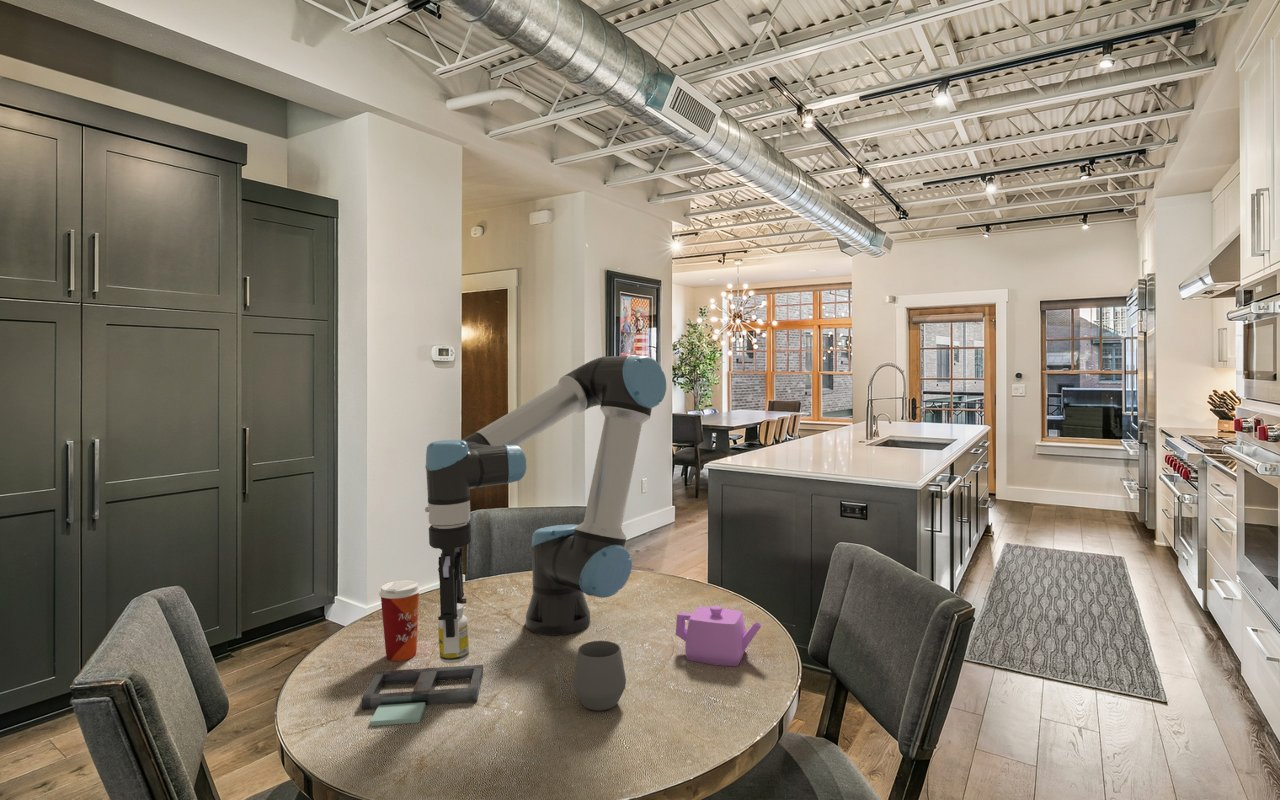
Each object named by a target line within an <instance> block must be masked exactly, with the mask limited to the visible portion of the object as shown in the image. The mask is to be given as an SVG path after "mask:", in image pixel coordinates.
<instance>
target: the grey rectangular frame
mask: <svg viewBox="0 0 1280 800" xmlns="http://www.w3.org/2000/svg"><path fill="white" fill-rule="evenodd" d="M483 676H484V665H483V664H473V665H472V664H471V665H459V666H457V665H455V666H444V667H443V666H442V667H441V666H440V667H426V668H424V667H423V668H413V669H411V668H409V669H396V670H395V669H394V670H378V671H376V673H375V675H374V677H373V678H372V680H371V681H370V682H369V685H368V687H367V688H366V690H365V692H364V693H363V695H362V697H361V710H362V711H363V710H375V709H376V710H377V708H378V706H379V705H393V704H407V703H421V702H425V706H432V705H433V706H434V705H436V706H437V705H449V704H460V703H461V704H463V703H476V702H478V699H479V695H480V691H481V686H482V681H483ZM443 680H445V681H457V680H470V684H469V687H457V688H456V687H455V688H445V689H444V688H442V689H436V686H437V684H438V682H442V681H443ZM411 682H412V683H413V682H415V684H414V687H413V690H412V691H400V692H399V691H397V692H383V693H380V692H381V690H382V688H383V686H384V684H385V685H396V683H398V684H399V683H400V684H412V683H411ZM398 684H397V685H398ZM400 684H399V685H400Z"/></svg>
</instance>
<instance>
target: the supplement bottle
mask: <svg viewBox="0 0 1280 800" xmlns="http://www.w3.org/2000/svg"><path fill="white" fill-rule="evenodd" d="M462 614H463V615H462ZM457 615H458V616H457V617H458V619H459V647H460V652H459V653H450V654H444V641H443V620H438V622H437V623H438V624H437V625H438V626H437V628H438V645H439V646H438V648H439V660H440V661H441V662H443V663H446V664H454V663H460V662H463V661H465V660H467V659H468V658H469V656H470V637H469V636H470V635H469V619H468V617H467V616H466V615H464V604H460V603H457Z"/></svg>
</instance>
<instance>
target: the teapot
mask: <svg viewBox="0 0 1280 800" xmlns="http://www.w3.org/2000/svg"><path fill="white" fill-rule="evenodd" d="M743 613H744V612H743V611H742V610H738V609H729V608H723V607H722V606H720V605H712V606H698V607H697V608H696V609H695V610H694V611H693V612H684V611H682V612H681V611H679V612H678V614H677V615H676V624H675V625H676V626H675V636H677V637H679V638H680V639H681V640H683V641H684V642H685V649H684V652H685V655H686V656H685V657H686V659H687V660H688V661H690V662H694V663H695V662H696V663H701V664H707V665H713V666H721V667H722V666H724V667H738V666H739V664H740V663H741V661H742V659H743V656H744V655H745V651H746V649H747V647H748V646H750V645H749V644H750V643H751V642H752V641H753V639H754V637H755V636H756V634H757V633H758V631H760V628H761V627H762V623H761V622H760V623H759V622H758V621H754V622H753V624H752V625H751V626H750V627H749V628H748V629H747V630H746V624H745V618H744V614H743ZM686 621H688V623H687V627H686Z"/></svg>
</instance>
